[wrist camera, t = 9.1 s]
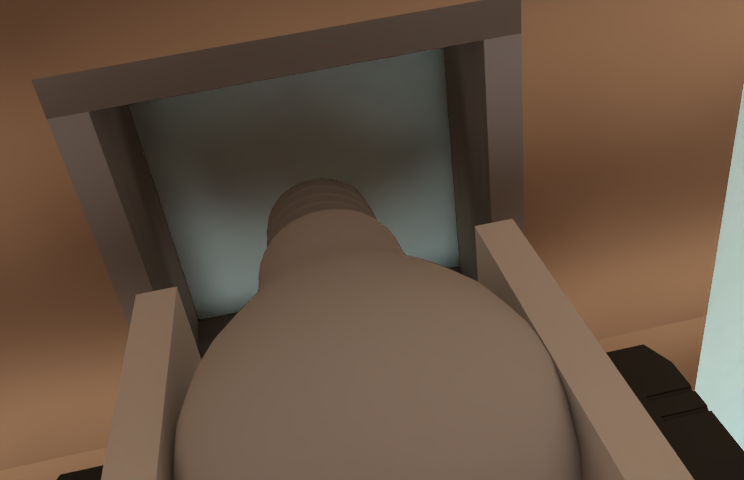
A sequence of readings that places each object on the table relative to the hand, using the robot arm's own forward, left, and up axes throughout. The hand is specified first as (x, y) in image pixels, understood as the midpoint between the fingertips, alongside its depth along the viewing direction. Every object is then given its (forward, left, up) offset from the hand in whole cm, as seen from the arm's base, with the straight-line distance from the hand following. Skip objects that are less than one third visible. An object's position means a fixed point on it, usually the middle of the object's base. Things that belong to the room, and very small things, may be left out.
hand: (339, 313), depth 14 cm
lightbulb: (0, 0, -5) cm, 5 cm away
